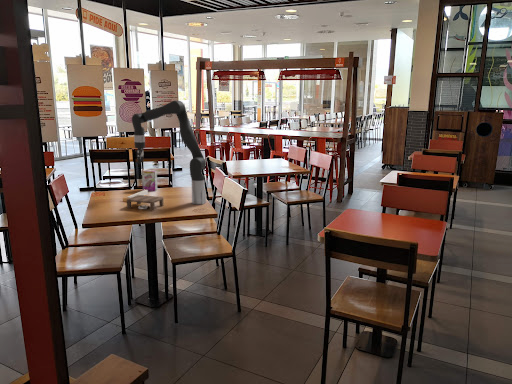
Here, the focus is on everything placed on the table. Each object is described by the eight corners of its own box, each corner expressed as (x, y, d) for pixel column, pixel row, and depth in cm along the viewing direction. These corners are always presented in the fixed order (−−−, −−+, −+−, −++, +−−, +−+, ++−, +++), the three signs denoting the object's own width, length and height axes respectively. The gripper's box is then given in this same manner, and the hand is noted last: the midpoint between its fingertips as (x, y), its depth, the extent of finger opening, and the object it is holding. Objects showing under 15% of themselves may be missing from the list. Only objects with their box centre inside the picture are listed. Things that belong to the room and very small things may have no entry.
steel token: (149, 208, 279) (149, 205, 279) (144, 210, 274) (144, 207, 273) (141, 207, 281) (141, 205, 281) (136, 209, 275) (136, 207, 275)
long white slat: (151, 194, 317) (150, 190, 316) (132, 202, 293) (132, 197, 292) (142, 193, 319) (142, 189, 318) (123, 201, 295) (122, 196, 294)
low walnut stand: (163, 205, 284) (163, 197, 283) (153, 210, 271) (152, 201, 270) (138, 203, 290) (138, 194, 288) (127, 208, 277) (126, 199, 275)
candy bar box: (142, 190, 328) (141, 170, 324) (144, 189, 333) (143, 169, 329) (155, 191, 327) (154, 171, 323) (157, 189, 332) (156, 170, 328)
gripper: (143, 142, 289) (144, 164, 293) (146, 140, 303) (147, 161, 307) (132, 142, 289) (133, 164, 292) (136, 140, 302) (137, 161, 306)
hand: (140, 163), depth 300 cm, fingers open, 8 cm apart
